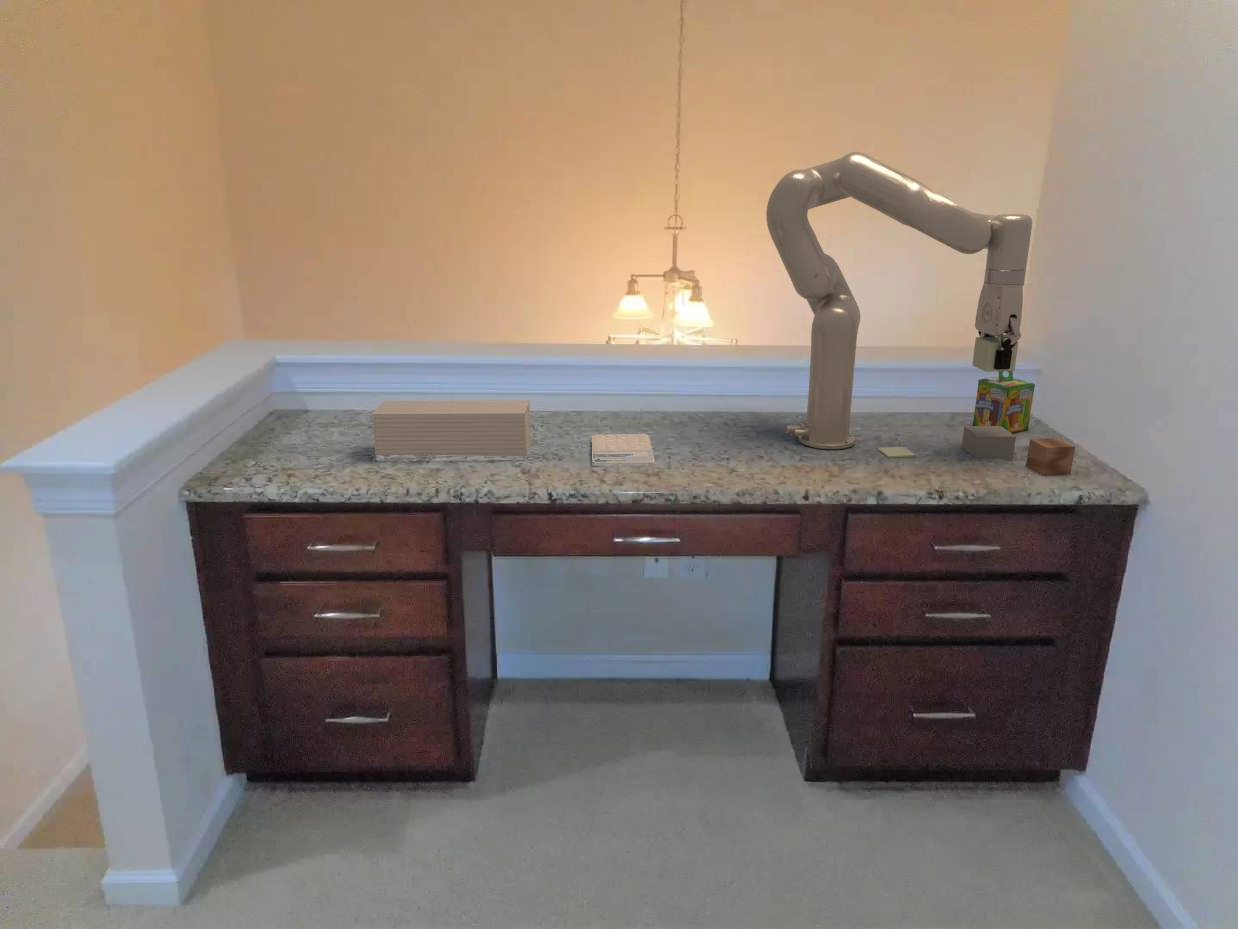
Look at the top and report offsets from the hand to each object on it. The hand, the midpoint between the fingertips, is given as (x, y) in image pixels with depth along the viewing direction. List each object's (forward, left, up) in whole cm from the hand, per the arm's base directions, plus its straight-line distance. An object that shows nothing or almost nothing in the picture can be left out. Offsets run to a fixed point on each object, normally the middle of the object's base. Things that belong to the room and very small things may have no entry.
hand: (993, 364), depth 180 cm
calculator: (-77, +13, -21) cm, 80 cm away
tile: (-18, +4, -20) cm, 27 cm away
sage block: (0, 0, -1) cm, 1 cm away
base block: (+2, +2, -20) cm, 20 cm away
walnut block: (+8, -11, -20) cm, 24 cm away
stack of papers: (-113, +17, -20) cm, 116 cm away
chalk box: (+15, +19, -20) cm, 32 cm away
